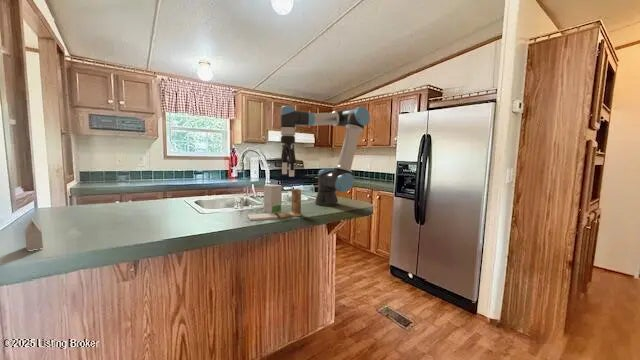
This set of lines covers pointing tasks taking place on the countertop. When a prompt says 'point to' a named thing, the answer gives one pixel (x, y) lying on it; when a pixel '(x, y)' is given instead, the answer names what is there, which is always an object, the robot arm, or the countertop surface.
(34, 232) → the tea bag
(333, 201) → the robot arm
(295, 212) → the wooden bracket
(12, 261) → the countertop surface
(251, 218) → the mat
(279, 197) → the skincare box
